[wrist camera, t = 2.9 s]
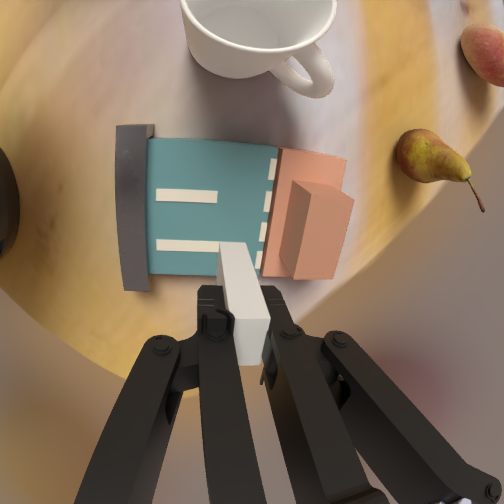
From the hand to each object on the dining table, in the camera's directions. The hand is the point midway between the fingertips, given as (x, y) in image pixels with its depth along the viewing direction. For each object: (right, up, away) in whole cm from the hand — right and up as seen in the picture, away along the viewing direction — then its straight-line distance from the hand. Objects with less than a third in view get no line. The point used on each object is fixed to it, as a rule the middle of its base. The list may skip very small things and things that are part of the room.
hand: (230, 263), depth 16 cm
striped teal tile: (-4, +5, +8) cm, 10 cm away
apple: (+31, +28, +3) cm, 41 cm away
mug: (+1, +18, +3) cm, 18 cm away
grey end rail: (-9, +5, +7) cm, 12 cm away
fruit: (+18, +12, +9) cm, 23 cm away
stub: (+6, +4, +10) cm, 12 cm away
